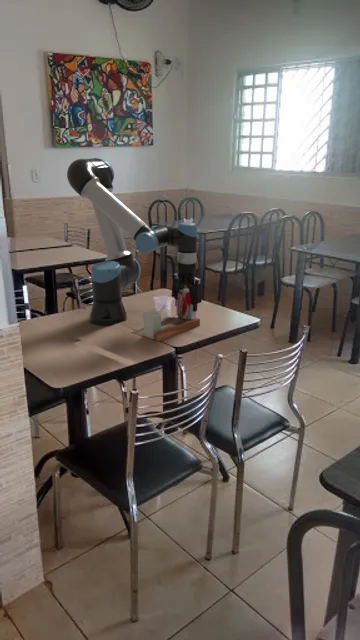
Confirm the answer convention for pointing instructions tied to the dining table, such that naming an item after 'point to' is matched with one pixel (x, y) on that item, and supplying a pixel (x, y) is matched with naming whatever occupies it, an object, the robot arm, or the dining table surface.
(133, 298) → the dining table surface
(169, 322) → the shelf board
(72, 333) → the dining table surface
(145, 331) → the carton
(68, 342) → the dining table surface
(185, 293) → the soda can
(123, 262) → the robot arm
